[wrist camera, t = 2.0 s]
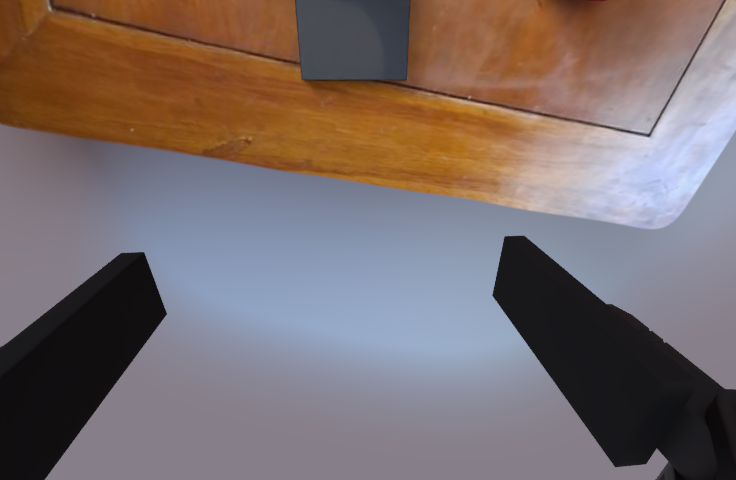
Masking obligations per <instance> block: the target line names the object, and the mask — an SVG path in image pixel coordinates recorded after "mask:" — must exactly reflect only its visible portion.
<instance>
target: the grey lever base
mask: <svg viewBox="0 0 736 480" xmlns="http://www.w3.org/2000/svg"><path fill="white" fill-rule="evenodd" d="M295 4H296V16H297V28H298V40H299V52H300V64H301V76H302V80H406V79H407V61H408V40H409V19H410V0H295Z"/></svg>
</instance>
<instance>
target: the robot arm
mask: <svg viewBox="0 0 736 480" xmlns="http://www.w3.org/2000/svg"><path fill="white" fill-rule="evenodd" d="M493 297H494V298H495V300H496V301H497V303H498V304H499V305H500V307H501V308H502V309H503V311H504V312H505V314H506V315H507V316H508V318H509V319H510V321H511V322H512V324H513V325H514V326H515V328H516V329H517V330H518V332H519V333H520V335H521V336H522V337H523V339H524V340H525V342H526V343H527V344H528V346H529V347H530V349H531V350H532V351H533V353H534V354H535V356H536V357H537V358H538V360H539V361H540V363H541V364H542V365H543V367H544V368H545V370H546V371H547V372H548V374H549V375H550V377H551V378H552V379H553V381H554V382H555V383H556V385H557V386H558V388H559V389H560V391H561V392H562V393H563V395H564V396H565V398H566V399H567V400H568V402H569V403H570V404H571V406H572V407H573V409H574V410H575V412H576V413H577V414H578V415H579V417H580V419H581V420H582V421H583V423H584V424H585V425H586V427H587V428H588V430H589V431H590V432H591V434H592V435H593V436H594V438H595V439H596V441H597V442H598V444H599V445H600V446H601V448H602V449H603V451H604V452H605V453H606V455H607V456H608V458H609V459H610V460H611V462H612V463H613V465H614V466H615V467H621V466H631V465H641V464H646V463H647V462H648V460H649V459H650V457H651V456H652V454H653V453H654V451H655V450H656V448H657V449H658V450H659V451H660V452H661V453H662V454H663V455H664V457H665V458H666V459H667V460H668V461H669V462H668V464H667V465H666V466H665V468H664V469H663V470H662V472H661V473H660V475H659V476H658V477H657V479H656V480H736V390H733V389H724V388H723V387H722V386H720V385H719V384H718V383H717V382H715V381H714V380H713V379H712V378H710V377H709V376H708V375H707V374H705V373H704V372H703V371H701V370H700V369H699V368H698V367H697V366H695V365H694V364H693V363H692V362H690V361H689V360H688V359H687V358H685V357H684V356H683V355H682V354H680V353H679V352H678V351H677V350H675V349H674V348H673V347H672V346H670V345H669V344H668V343H664V342H663V339H661V338H660V337H659V336H658V335H656V334H655V333H654V332H653V331H649V328H648V327H646V326H645V325H644V324H643V323H641V322H640V321H639V320H638V319H636V318H635V317H634V316H633V315H631V314H629V313H627V312H625V311H623V310H621V309H620V308H618V307H616V306H614V305H612V304H605V303H604V302H603V301H602V300H600V299H599V298H598V297H597V296H596V295H595V294H593V293H592V292H591V291H590V290H588V289H587V288H586V287H585V286H584V285H583V284H581V283H580V282H579V281H578V280H576V279H575V278H574V277H573V276H572V275H571V274H569V273H568V272H567V271H566V270H565V269H563V268H562V267H561V266H560V265H559V264H557V263H556V262H555V261H554V260H553V259H551V258H550V257H549V256H548V255H547V254H545V253H544V252H543V251H542V250H541V249H539V248H538V247H537V246H536V245H535V244H533V243H532V242H531V241H530V240H528V239H527V238H526V237H525V236H507V237H506V236H505V238H504V243H503V247H502V252H501V257H500V262H499V267H498V272H497V277H496V281H495V286H494V291H493ZM166 315H167V313H166V310H165V308H164V305H163V303H162V300H161V297H160V294H159V291H158V289H157V286H156V283H155V281H154V278H153V275H152V272H151V270H150V267H149V264H148V262H147V259H146V256H145V254H144V252H138V253H121V254H120V255H118V256H117V257H116V258H114V259H113V260H112V261H111V262H110V263H108V264H107V265H106V266H104V267H103V268H102V269H101V270H99V271H98V272H97V273H96V274H94V275H93V276H92V277H90V278H89V279H88V280H87V281H85V282H84V283H83V284H82V285H80V286H79V287H78V288H77V289H75V290H74V291H73V292H71V293H70V294H69V295H68V296H66V297H65V298H64V299H63V300H61V301H60V302H59V303H57V304H56V305H55V306H54V307H52V308H51V309H50V310H49V311H47V312H46V313H45V314H44V315H42V316H41V317H40V318H39V319H37V320H36V321H35V322H33V323H32V324H31V325H30V326H28V327H27V328H26V329H25V330H24V331H22V332H21V333H20V334H18V335H17V336H16V337H14V338H13V339H12V340H11V341H9V342H8V343H7V344H5V345H4V346H2V347H0V480H45V478H46V477H47V476H48V474H49V473H50V472H51V470H52V469H53V467H54V466H55V465H56V463H57V462H58V461H59V459H60V458H61V457H62V455H63V453H65V451H66V450H67V449H68V447H69V446H70V444H71V443H72V442H73V440H74V439H75V438H76V436H77V435H78V434H79V432H80V431H81V429H82V428H83V427H84V425H85V424H86V423H87V421H88V420H89V419H90V417H91V416H92V415H93V413H94V412H95V411H96V409H97V408H98V407H99V405H100V404H101V403H102V401H103V400H104V398H105V397H106V395H107V394H108V393H109V392H110V390H111V389H112V388H113V386H114V385H115V383H116V382H117V381H118V380H119V378H120V377H121V375H122V374H123V373H124V371H125V370H126V369H127V367H128V366H129V365H130V363H131V362H132V361H133V359H134V358H135V356H136V355H137V354H138V352H139V351H140V350H141V348H142V347H143V345H144V344H145V343H146V342H147V340H148V339H149V338H150V336H151V335H152V333H153V332H154V331H155V329H156V328H157V327H158V325H159V324H160V323H161V321H162V320H163V319H164V317H165V316H166Z"/></svg>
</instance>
